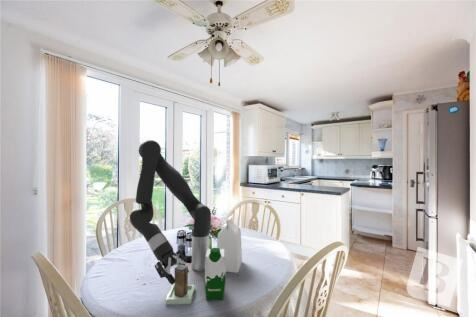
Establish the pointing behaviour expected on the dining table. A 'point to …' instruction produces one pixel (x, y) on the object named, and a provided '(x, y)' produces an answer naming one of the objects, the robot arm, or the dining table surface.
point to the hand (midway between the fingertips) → (180, 278)
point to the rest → (177, 300)
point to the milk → (231, 245)
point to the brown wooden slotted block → (181, 281)
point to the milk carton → (215, 274)
